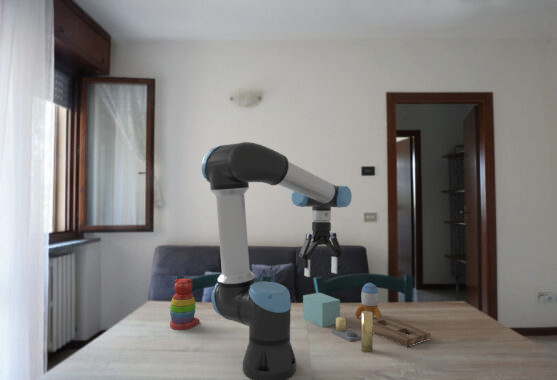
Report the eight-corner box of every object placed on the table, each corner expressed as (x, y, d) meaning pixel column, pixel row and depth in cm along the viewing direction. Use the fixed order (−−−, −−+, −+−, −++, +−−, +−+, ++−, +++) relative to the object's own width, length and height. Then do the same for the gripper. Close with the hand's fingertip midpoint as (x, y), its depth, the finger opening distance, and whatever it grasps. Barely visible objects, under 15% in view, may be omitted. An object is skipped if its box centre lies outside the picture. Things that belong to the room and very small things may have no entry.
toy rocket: (386, 324, 141) (381, 288, 139) (359, 328, 141) (354, 293, 139) (378, 312, 151) (374, 278, 149) (354, 316, 151) (348, 283, 149)
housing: (322, 327, 135) (322, 303, 135) (303, 317, 146) (303, 295, 146) (339, 323, 139) (339, 299, 139) (319, 314, 150) (319, 292, 150)
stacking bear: (201, 321, 140) (201, 275, 141) (192, 330, 130) (192, 281, 131) (174, 320, 142) (175, 275, 142) (163, 329, 131) (164, 281, 132)
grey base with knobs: (349, 341, 121) (349, 326, 121) (331, 332, 130) (331, 318, 130) (361, 338, 124) (361, 323, 124) (343, 329, 132) (343, 315, 133)
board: (407, 347, 117) (407, 339, 117) (363, 328, 134) (363, 321, 134) (430, 340, 123) (430, 332, 123) (385, 322, 140) (385, 316, 140)
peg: (367, 353, 112) (366, 314, 112) (359, 349, 115) (358, 311, 115) (375, 351, 114) (374, 313, 114) (366, 347, 117) (366, 310, 117)
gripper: (301, 222, 134) (300, 279, 133) (351, 221, 147) (351, 273, 146) (290, 221, 140) (289, 275, 140) (339, 220, 153) (338, 270, 153)
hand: (321, 274), depth 143 cm, fingers open, 13 cm apart
